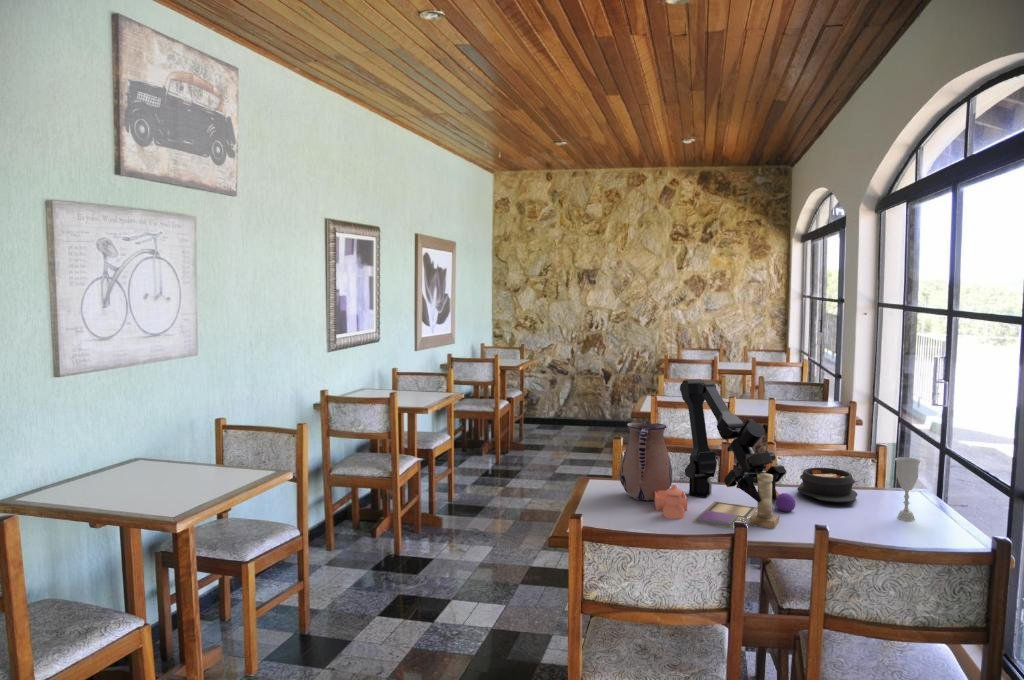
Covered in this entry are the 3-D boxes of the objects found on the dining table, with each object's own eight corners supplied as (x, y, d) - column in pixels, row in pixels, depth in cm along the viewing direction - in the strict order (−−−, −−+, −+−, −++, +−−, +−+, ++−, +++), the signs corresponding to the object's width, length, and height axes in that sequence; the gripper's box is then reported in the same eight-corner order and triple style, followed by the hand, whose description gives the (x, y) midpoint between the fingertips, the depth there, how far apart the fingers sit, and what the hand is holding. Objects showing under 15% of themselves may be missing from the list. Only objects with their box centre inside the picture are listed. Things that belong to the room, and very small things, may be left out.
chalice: (896, 513, 226) (897, 456, 225) (921, 517, 222) (922, 459, 221) (890, 519, 221) (892, 460, 219) (916, 523, 216) (917, 463, 215)
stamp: (749, 526, 215) (750, 476, 214) (754, 519, 221) (755, 471, 220) (774, 530, 211) (775, 479, 211) (778, 523, 217) (779, 473, 217)
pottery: (654, 502, 239) (654, 473, 239) (683, 503, 238) (683, 474, 238) (658, 519, 222) (658, 488, 221) (690, 520, 220) (690, 488, 220)
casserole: (788, 486, 259) (788, 463, 258) (842, 487, 257) (843, 464, 256) (809, 507, 234) (809, 481, 233) (870, 508, 232) (870, 482, 232)
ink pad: (695, 521, 218) (696, 518, 218) (705, 513, 227) (705, 509, 227) (729, 527, 213) (729, 523, 213) (738, 518, 222) (738, 514, 222)
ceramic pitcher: (669, 490, 254) (670, 419, 252) (675, 508, 233) (676, 431, 232) (618, 489, 256) (618, 419, 255) (620, 507, 235) (620, 430, 234)
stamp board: (692, 523, 218) (692, 521, 218) (714, 502, 240) (714, 500, 240) (739, 530, 211) (739, 528, 211) (758, 508, 233) (758, 506, 233)
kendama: (782, 485, 246) (799, 497, 226) (779, 503, 246) (795, 516, 226) (764, 481, 246) (779, 493, 226) (761, 499, 246) (776, 512, 226)
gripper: (730, 443, 216) (753, 489, 206) (783, 439, 221) (807, 483, 212) (714, 463, 224) (736, 509, 214) (766, 459, 229) (789, 503, 220)
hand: (767, 500), depth 214 cm, fingers open, 5 cm apart
